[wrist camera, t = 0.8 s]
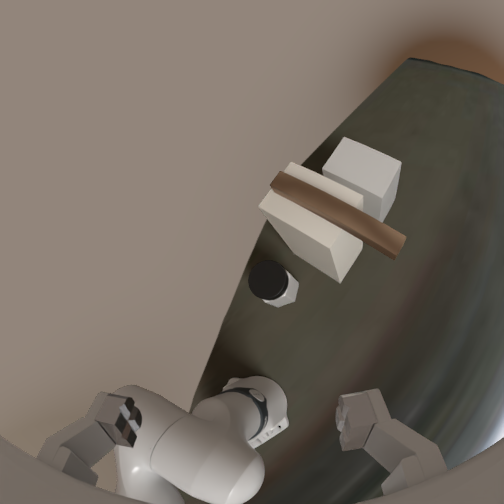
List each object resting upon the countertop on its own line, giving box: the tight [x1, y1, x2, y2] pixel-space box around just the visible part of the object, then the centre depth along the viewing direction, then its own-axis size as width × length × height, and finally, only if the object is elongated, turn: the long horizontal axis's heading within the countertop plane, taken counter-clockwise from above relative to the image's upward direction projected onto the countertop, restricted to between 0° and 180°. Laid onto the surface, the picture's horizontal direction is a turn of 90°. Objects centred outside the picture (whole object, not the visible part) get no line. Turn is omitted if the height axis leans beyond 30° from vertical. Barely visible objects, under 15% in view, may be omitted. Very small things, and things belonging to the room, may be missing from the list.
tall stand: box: [258, 162, 363, 283], centre depth 53 cm, size 10×14×26 cm
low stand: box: [322, 137, 402, 222], centre depth 58 cm, size 10×14×16 cm
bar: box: [270, 171, 406, 260], centre depth 38 cm, size 3×22×2 cm, turn 52°
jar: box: [248, 260, 299, 307], centre depth 61 cm, size 9×8×12 cm
